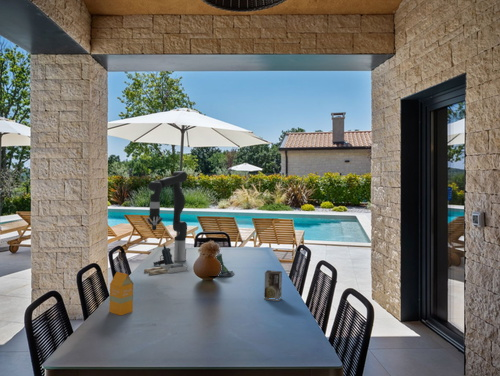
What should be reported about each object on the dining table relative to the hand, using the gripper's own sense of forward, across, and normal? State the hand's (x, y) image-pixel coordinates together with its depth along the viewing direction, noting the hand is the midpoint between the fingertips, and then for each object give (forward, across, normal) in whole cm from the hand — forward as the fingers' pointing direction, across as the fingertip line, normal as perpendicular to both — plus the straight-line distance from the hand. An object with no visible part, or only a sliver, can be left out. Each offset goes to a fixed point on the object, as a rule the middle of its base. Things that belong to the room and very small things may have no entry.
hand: (154, 230), depth 288 cm
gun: (+29, -10, -2) cm, 31 cm away
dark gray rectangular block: (+29, -10, +15) cm, 34 cm away
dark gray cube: (+29, -14, +15) cm, 36 cm away
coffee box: (+29, -22, +109) cm, 115 cm away
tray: (+29, -9, +15) cm, 34 cm away
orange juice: (+29, +57, +78) cm, 101 cm away
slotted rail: (+29, +5, +15) cm, 33 cm away
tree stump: (+29, -31, +46) cm, 63 cm away
